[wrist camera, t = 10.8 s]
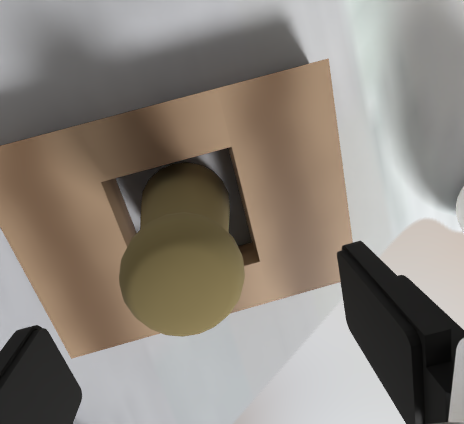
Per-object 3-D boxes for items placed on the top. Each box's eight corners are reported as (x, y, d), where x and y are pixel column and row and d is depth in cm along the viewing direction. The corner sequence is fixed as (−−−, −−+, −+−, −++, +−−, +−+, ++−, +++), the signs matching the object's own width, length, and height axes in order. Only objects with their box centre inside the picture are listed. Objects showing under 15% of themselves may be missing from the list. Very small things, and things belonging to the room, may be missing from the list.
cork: (176, 261, 24) (165, 384, 14) (122, 195, 22) (61, 283, 12) (246, 215, 24) (289, 309, 13) (197, 143, 22) (203, 188, 11)
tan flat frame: (309, 63, 21) (328, 58, 18) (338, 257, 26) (357, 277, 23) (-7, 147, 20) (-39, 155, 17) (84, 328, 25) (71, 358, 22)
